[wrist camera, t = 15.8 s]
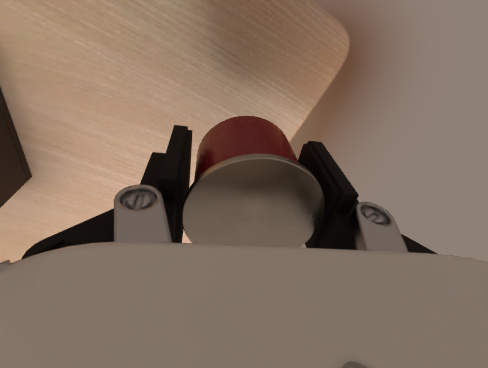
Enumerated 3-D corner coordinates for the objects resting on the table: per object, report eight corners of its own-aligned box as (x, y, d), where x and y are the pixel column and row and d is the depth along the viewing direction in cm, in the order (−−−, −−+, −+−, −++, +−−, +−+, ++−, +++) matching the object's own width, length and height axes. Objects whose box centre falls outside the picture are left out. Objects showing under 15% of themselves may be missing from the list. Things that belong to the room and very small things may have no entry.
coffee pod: (193, 100, 10) (183, 149, 7) (310, 116, 11) (348, 166, 8) (188, 196, 13) (179, 262, 10) (281, 203, 14) (300, 265, 11)
